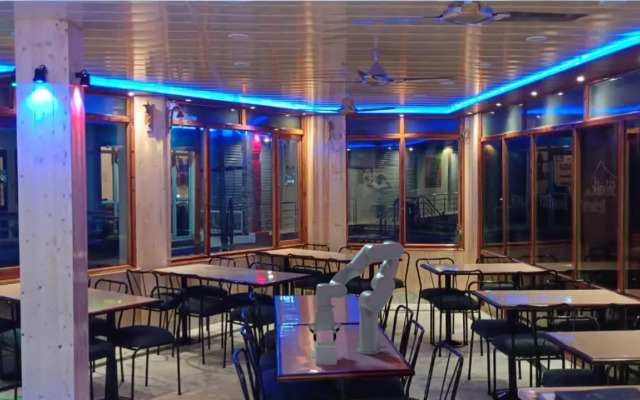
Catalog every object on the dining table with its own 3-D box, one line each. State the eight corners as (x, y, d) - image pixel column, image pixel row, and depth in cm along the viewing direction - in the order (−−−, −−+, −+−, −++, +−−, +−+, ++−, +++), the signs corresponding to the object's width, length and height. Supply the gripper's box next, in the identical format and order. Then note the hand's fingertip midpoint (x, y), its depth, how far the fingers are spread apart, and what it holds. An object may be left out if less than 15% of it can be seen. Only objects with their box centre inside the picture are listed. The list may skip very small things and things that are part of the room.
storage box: (334, 359, 303) (335, 341, 303) (336, 365, 293) (337, 346, 293) (314, 359, 303) (314, 341, 302) (316, 365, 293) (316, 346, 292)
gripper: (340, 305, 316) (340, 338, 316) (306, 307, 315) (307, 340, 315) (341, 308, 308) (342, 342, 309) (307, 310, 307) (308, 343, 308)
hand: (324, 341), depth 312 cm, fingers open, 9 cm apart
